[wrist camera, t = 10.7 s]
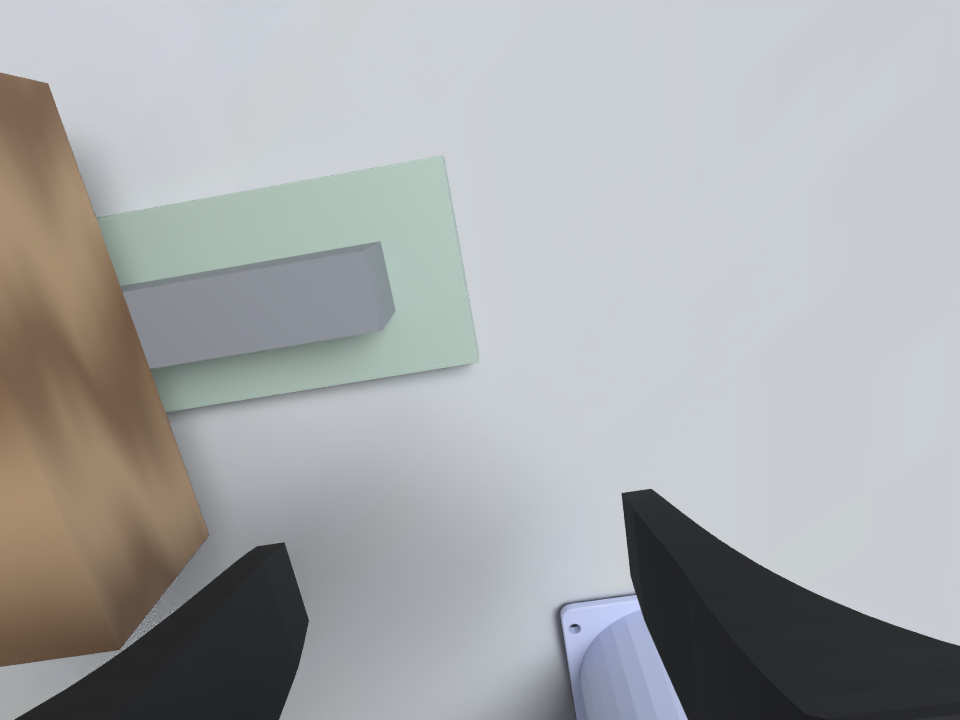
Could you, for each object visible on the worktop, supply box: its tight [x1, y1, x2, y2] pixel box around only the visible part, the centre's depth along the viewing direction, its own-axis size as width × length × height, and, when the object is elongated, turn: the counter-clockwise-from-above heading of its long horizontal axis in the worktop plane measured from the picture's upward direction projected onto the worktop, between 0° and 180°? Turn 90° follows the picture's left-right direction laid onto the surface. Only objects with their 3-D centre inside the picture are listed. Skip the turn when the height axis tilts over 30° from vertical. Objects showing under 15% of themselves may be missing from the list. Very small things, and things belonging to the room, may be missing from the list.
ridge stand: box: [96, 156, 479, 412], centre depth 19 cm, size 7×20×4 cm, turn 100°
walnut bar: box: [0, 73, 209, 667], centre depth 15 cm, size 14×4×5 cm, turn 10°
